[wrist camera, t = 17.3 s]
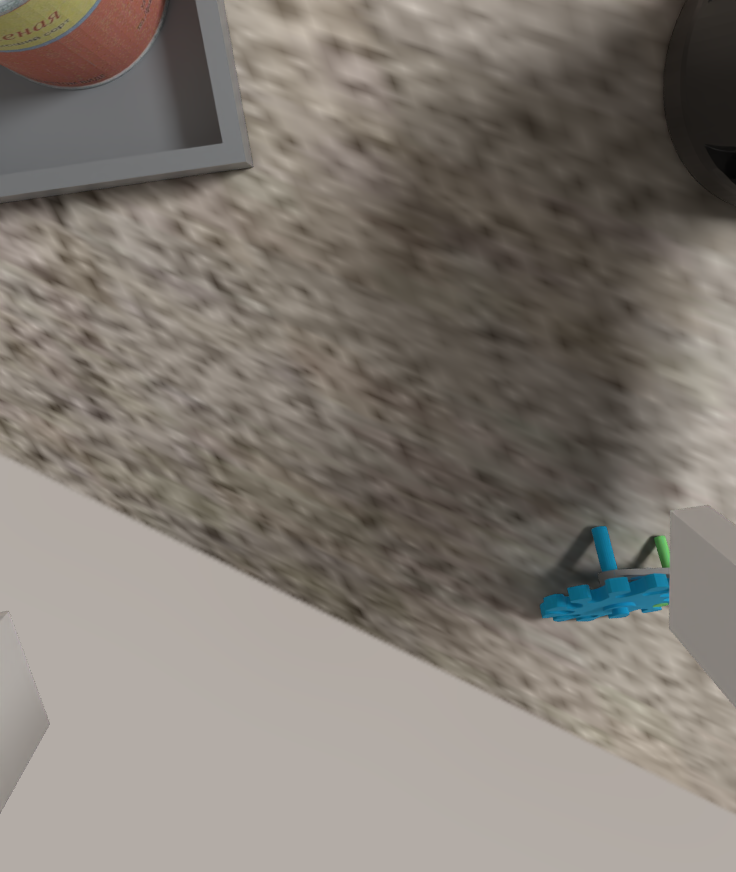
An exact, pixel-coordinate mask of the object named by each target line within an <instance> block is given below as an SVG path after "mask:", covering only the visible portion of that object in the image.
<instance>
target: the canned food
mask: <svg viewBox="0 0 736 872" xmlns="http://www.w3.org/2000/svg"><path fill="white" fill-rule="evenodd" d="M168 3H169V0H0V65H2V66H4V67H5V68H7V69H8V70H10V71H12V72H13V73H15V74H17V75H19V76H21V77H23V78H25V79H27V80H29V81H32V82H35V83H37V84H40V85H44V86H48V87H52V88H58V89H69V90H77V89H87V88H93V87H97V86H101V85H104V84H106V83H109V82H111V81H114V80H116V79H117V78H119V77H121V76H123V75H124V74H125V73H127V72H128V71H130V70H131V69H132V68H133V67H134V66H135V65H137V64H138V63H139V62H140V61H141V59H142V58H143V57H144V56H145V55H146V54H147V52H148V51H149V49H150V48H151V47H152V45H153V43H154V42H155V40H156V38H157V36H158V34H159V32H160V30H161V27H162V25H163V22H164V19H165V16H166V12H167V7H168Z"/></svg>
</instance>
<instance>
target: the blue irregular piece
mask: <svg viewBox="0 0 736 872" xmlns="http://www.w3.org/2000/svg"><path fill="white" fill-rule="evenodd" d="M592 534H593V538H594V542H595V546H596V550H597V554H598V558H599V562H600V566H601V570H602V572H601V573H599V574H598V578H599V582H600V586H601V587H600V588H597V589H593V590H590V588H589V585H579V586H574V587H570V588H567V590H568V594H569V596H564V595H563V594H553V595H550V596H547V597H545V598H543V599H544V603H541V604H540V609H541V614H542V618H550V617H553V620H554V621H557V622H560V621H566V620H569V619H573V618H576V621H591V620H594V619H596V618H598V617H601V616H605V615H608V617H609V618H621V617H626V616H628V615H629V612H631V611H634V610H638V609H641V610H642V613H647V612H653V611H658V610H662V608H661V607H662V606H666V605H668V604H669V583H670V552H669V548H668V545H667V542H666V538H665V536H658V537H655V538H654V541H655V544H656V547H657V551H658V554H659V558H660V561H661V564H662V568H644V569H617V565H616V561H615V557H614V553H613V550H612V546H611V542H610V538H609V534H608V530H607V527H606V526H599V527H595V528H593V529H592ZM628 581H632V582H628Z"/></svg>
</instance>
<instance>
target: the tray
mask: <svg viewBox="0 0 736 872" xmlns="http://www.w3.org/2000/svg"><path fill="white" fill-rule="evenodd" d="M250 167H253V161H252V156H251V150H250V145H249V139H248V134H247V128H246V122H245V117H244V111H243V106H242V100H241V95H240V89H239V83H238V78H237V72H236V67H235V61H234V56H233V50H232V44H231V39H230V33H229V28H228V22H227V17H226V11H225V5H224V0H169V3H168V7H167V12H166V16H165V19H164V22H163V25H162V27H161V30H160V32H159V34H158V36H157V38H156V40H155V42H154V43H153V45H152V47H151V48H150V49H149V51H148V52H147V54H146V55H145V56H144V57H143V58H142V59H141V61H140V62H139V63H138V64H137V65H135V66H134V67H133V68H132V69H131V70H130V71H128V72H127V73H125V74H124V75H123V76H121V77H119V78H117V79H116V80H114V81H111V82H109V83H106V84H104V85H101V86H97V87H93V88H87V89H77V90H69V89H58V88H52V87H48V86H44V85H40V84H37V83H35V82H32V81H29V80H27V79H25V78H23V77H21V76H19V75H17V74H15V73H13V72H12V71H10V70H8V69H7V68H5V67H4V66H2V65H0V203H7V202H14V201H21V200H28V199H35V198H42V197H49V196H56V195H63V194H70V193H77V192H84V191H91V190H97V189H104V188H111V187H118V186H125V185H132V184H139V183H146V182H153V181H160V180H167V179H174V178H181V177H188V176H195V175H202V174H209V173H216V172H223V171H230V170H236V169H243V168H250Z"/></svg>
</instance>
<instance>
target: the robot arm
mask: <svg viewBox="0 0 736 872" xmlns="http://www.w3.org/2000/svg"><path fill="white" fill-rule="evenodd" d="M664 105H665V113H666V119H667V124H668V128H669V132H670V135H671V138H672V141H673V143H674V146H675V148H676V150H677V152H678V154H679V156H680V158H681V160H682V162H683V163H684V165H685V166H686V168H687V169H688V170H689V172H690V173H691V174H692V176H693V177H694V178H695V179H696V180H697V181H698V182H699V183H700V184H701V185H702V186H703V187H704V188H706V189H707V190H708V191H709V192H711V193H712V194H714V195H715V196H717V197H718V198H720V199H722V200H724V201H726V202H728V203H731V204H733V205H736V0H687V1H686V3H685V5H684V7H683V9H682V11H681V13H680V15H679V18H678V20H677V23H676V25H675V28H674V31H673V34H672V37H671V41H670V44H669V49H668V53H667V58H666V64H665V73H664ZM669 629H670V630H671V632H672V633H673V634H674V635H675V636H676V638H677V639H678V640H679V641H680V642H681V643H682V645H683V646H684V647H685V648H686V649H687V651H688V652H689V653H690V654H691V655H692V657H693V658H694V659H695V660H696V661H697V663H698V664H699V665H700V666H701V667H702V668H703V670H704V671H705V672H706V673H707V674H708V676H709V677H710V678H711V679H712V680H713V682H714V683H715V684H716V685H717V686H718V688H719V689H720V690H721V691H722V692H723V693H724V695H725V696H726V697H727V698H728V699H729V701H730V702H731V703H732V704H733V705H734V707H735V708H736V525H735V524H734V523H732V522H731V521H730V520H728V519H727V518H726V517H724V516H723V515H722V514H720V513H719V512H718V511H716V510H715V509H713V508H712V507H711V506H709V505H704V506H697V507H691V508H684V509H678V510H671V511H670V583H669ZM49 725H50V722H49V720H48V717H47V714H46V711H45V709H44V706H43V704H42V700H41V698H40V695H39V692H38V690H37V687H36V684H35V681H34V679H33V676H32V673H31V670H30V668H29V665H28V662H27V659H26V657H25V654H24V651H23V648H22V646H21V643H20V640H19V638H18V635H17V632H16V629H15V627H14V624H13V621H12V619H11V616H10V613H9V611H5V612H0V813H1V811H2V809H3V808H4V806H5V804H6V802H7V800H8V799H9V797H10V795H11V793H12V791H13V790H14V788H15V786H16V784H17V782H18V780H19V779H20V777H21V775H22V773H23V772H24V770H25V768H26V766H27V764H28V763H29V761H30V759H31V757H32V755H33V753H34V752H35V750H36V748H37V746H38V745H39V743H40V741H41V739H42V737H43V735H44V734H45V732H46V730H47V728H48V726H49Z"/></svg>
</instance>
